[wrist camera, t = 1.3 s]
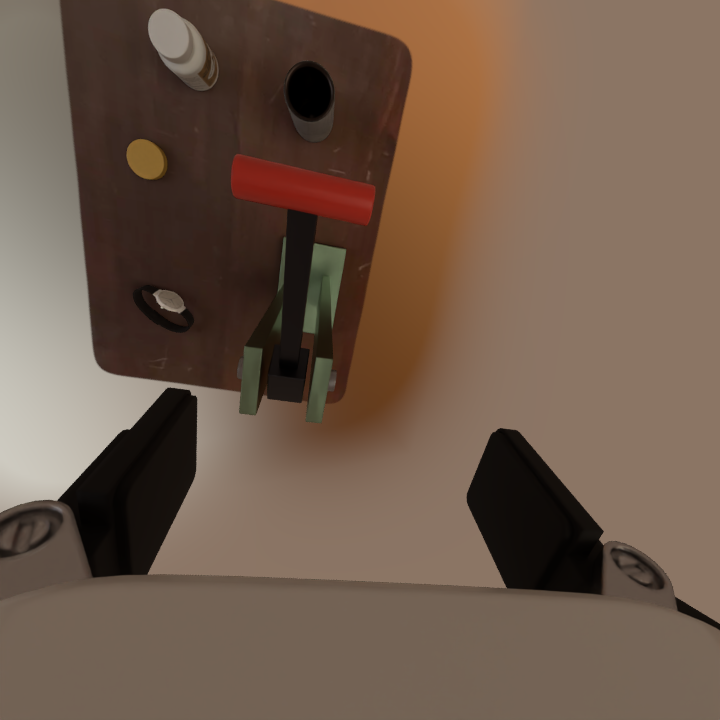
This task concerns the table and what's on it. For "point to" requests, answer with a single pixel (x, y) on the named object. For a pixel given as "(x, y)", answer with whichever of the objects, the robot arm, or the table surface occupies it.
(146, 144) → the brass blank
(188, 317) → the watch
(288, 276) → the lever
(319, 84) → the planter
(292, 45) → the table surface
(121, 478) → the robot arm
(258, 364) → the hand press
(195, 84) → the pill bottle
